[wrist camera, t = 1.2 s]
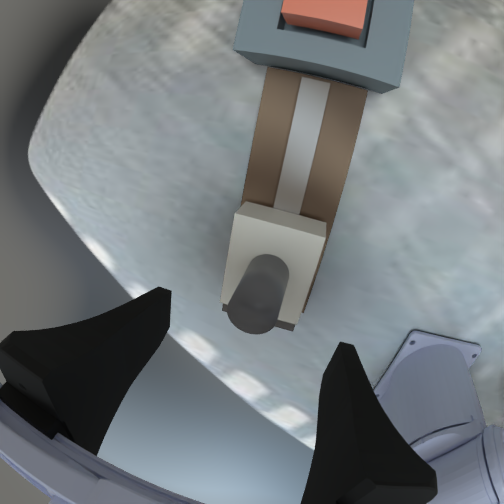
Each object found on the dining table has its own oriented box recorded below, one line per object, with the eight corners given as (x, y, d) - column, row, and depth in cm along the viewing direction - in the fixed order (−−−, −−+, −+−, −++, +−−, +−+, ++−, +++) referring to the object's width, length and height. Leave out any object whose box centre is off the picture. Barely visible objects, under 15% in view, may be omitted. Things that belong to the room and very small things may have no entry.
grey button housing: (382, 93, 16) (399, 87, 12) (251, 63, 17) (226, 49, 13) (399, 0, 13) (416, -29, 9) (271, -27, 14) (253, -61, 10)
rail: (304, 305, 24) (300, 333, 21) (229, 283, 24) (215, 308, 21) (365, 91, 16) (373, 87, 13) (270, 69, 17) (259, 60, 14)
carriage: (300, 303, 21) (287, 370, 15) (230, 283, 22) (196, 342, 16) (326, 222, 18) (323, 274, 13) (245, 201, 19) (208, 242, 13)
